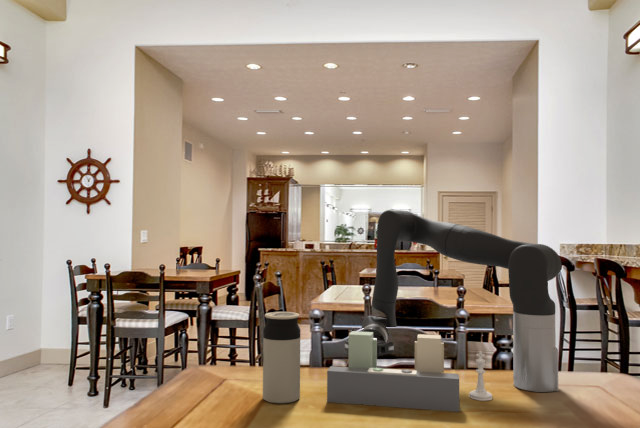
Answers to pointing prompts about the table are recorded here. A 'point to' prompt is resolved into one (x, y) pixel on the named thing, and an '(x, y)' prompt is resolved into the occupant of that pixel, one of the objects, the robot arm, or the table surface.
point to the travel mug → (281, 358)
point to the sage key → (362, 350)
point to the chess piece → (480, 382)
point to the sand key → (429, 353)
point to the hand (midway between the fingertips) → (364, 354)
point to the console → (393, 388)
